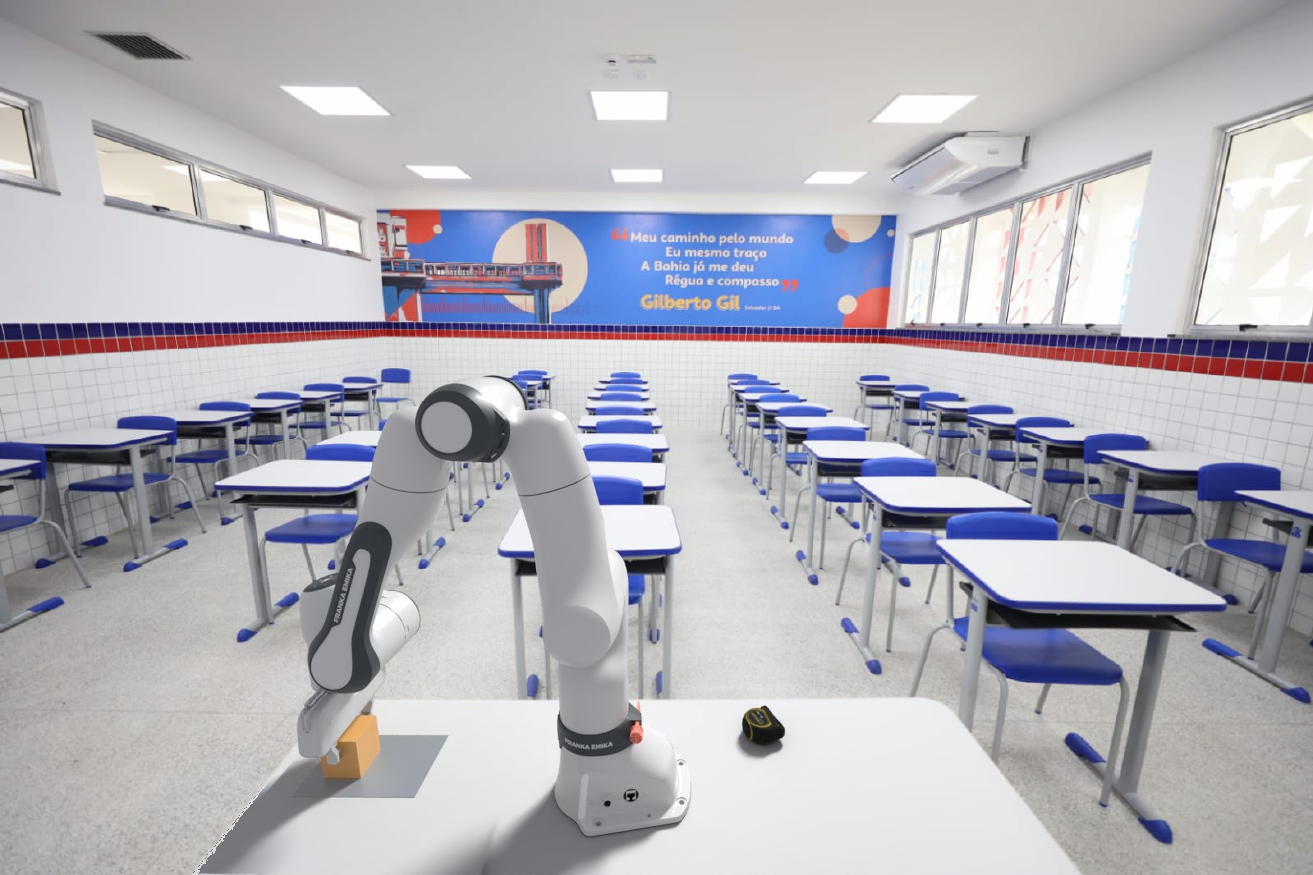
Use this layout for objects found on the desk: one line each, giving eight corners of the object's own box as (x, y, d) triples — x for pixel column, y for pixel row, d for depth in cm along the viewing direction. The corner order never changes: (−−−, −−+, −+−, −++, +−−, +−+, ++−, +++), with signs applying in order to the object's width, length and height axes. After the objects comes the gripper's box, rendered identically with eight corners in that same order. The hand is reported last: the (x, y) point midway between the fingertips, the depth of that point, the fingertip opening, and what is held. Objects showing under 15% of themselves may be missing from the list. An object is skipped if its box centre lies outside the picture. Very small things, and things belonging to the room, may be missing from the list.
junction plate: (449, 742, 104) (446, 713, 103) (415, 805, 90) (411, 772, 89) (343, 741, 105) (339, 713, 104) (293, 804, 91) (288, 772, 90)
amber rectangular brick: (380, 749, 101) (376, 715, 99) (361, 778, 94) (355, 741, 93) (345, 749, 101) (340, 715, 99) (323, 777, 94) (318, 741, 93)
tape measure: (786, 743, 102) (787, 725, 102) (752, 752, 100) (752, 733, 100) (768, 719, 109) (768, 701, 108) (735, 727, 107) (736, 709, 106)
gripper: (320, 709, 84) (333, 789, 86) (388, 635, 104) (398, 701, 106) (279, 709, 84) (293, 789, 87) (355, 635, 104) (365, 702, 107)
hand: (351, 740), depth 97 cm, fingers open, 8 cm apart
